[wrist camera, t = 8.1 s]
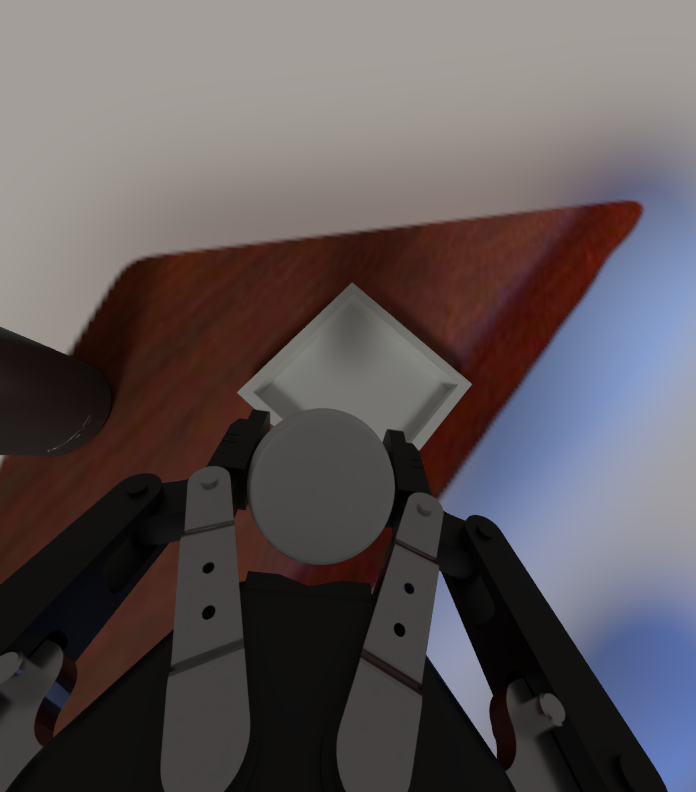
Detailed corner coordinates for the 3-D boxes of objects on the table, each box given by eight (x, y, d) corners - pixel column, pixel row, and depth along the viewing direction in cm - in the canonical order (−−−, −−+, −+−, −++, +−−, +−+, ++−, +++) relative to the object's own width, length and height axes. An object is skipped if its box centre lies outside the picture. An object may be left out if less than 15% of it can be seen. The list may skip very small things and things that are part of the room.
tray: (245, 399, 29) (236, 392, 26) (349, 297, 33) (352, 282, 30) (363, 508, 28) (368, 514, 25) (457, 391, 32) (471, 384, 29)
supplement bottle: (275, 426, 18) (229, 386, 8) (363, 427, 18) (415, 391, 9) (270, 521, 16) (209, 603, 7) (364, 519, 17) (425, 592, 8)
